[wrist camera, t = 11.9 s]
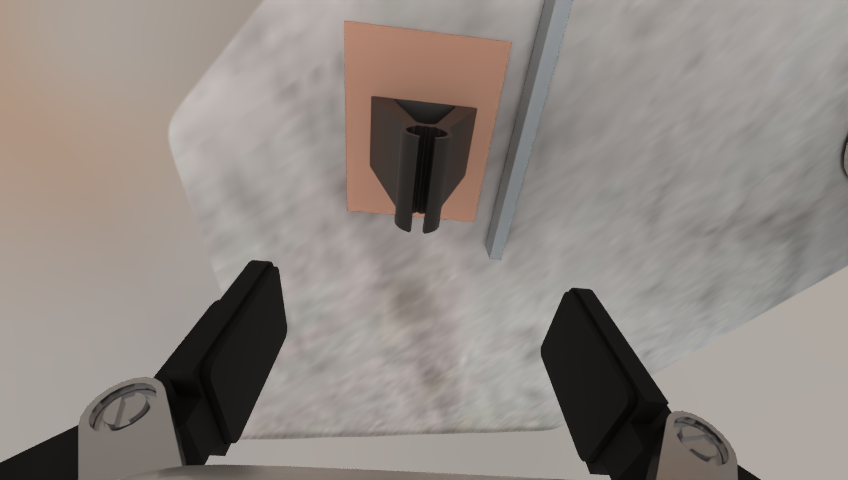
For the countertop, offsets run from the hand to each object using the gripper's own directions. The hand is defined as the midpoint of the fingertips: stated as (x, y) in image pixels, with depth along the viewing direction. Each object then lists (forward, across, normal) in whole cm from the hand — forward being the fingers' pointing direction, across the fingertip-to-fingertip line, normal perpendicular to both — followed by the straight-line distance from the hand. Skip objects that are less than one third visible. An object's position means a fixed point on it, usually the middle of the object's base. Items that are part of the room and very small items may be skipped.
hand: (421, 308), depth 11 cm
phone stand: (+22, 0, 0) cm, 22 cm away
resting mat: (+22, 0, 0) cm, 22 cm away
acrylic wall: (+22, -9, 0) cm, 24 cm away
